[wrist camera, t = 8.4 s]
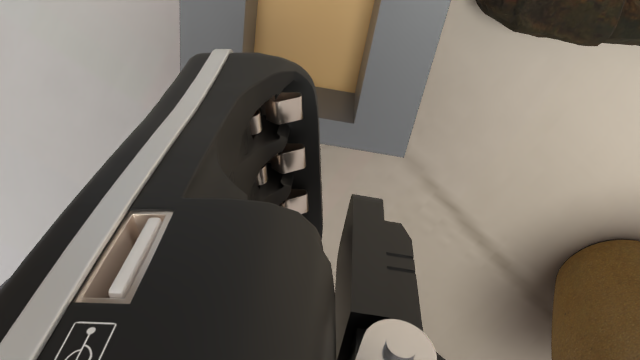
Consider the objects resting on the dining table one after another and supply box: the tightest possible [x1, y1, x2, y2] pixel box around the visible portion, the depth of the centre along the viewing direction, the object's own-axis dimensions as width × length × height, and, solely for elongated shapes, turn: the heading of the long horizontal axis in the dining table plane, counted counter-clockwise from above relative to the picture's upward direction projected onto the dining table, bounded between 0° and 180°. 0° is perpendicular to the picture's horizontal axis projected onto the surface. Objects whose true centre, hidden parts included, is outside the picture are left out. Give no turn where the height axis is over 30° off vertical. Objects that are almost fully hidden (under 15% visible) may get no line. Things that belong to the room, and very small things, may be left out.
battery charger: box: [0, 49, 336, 360], centre depth 9 cm, size 7×4×11 cm, turn 2°
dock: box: [180, 0, 451, 158], centre depth 25 cm, size 12×12×4 cm
